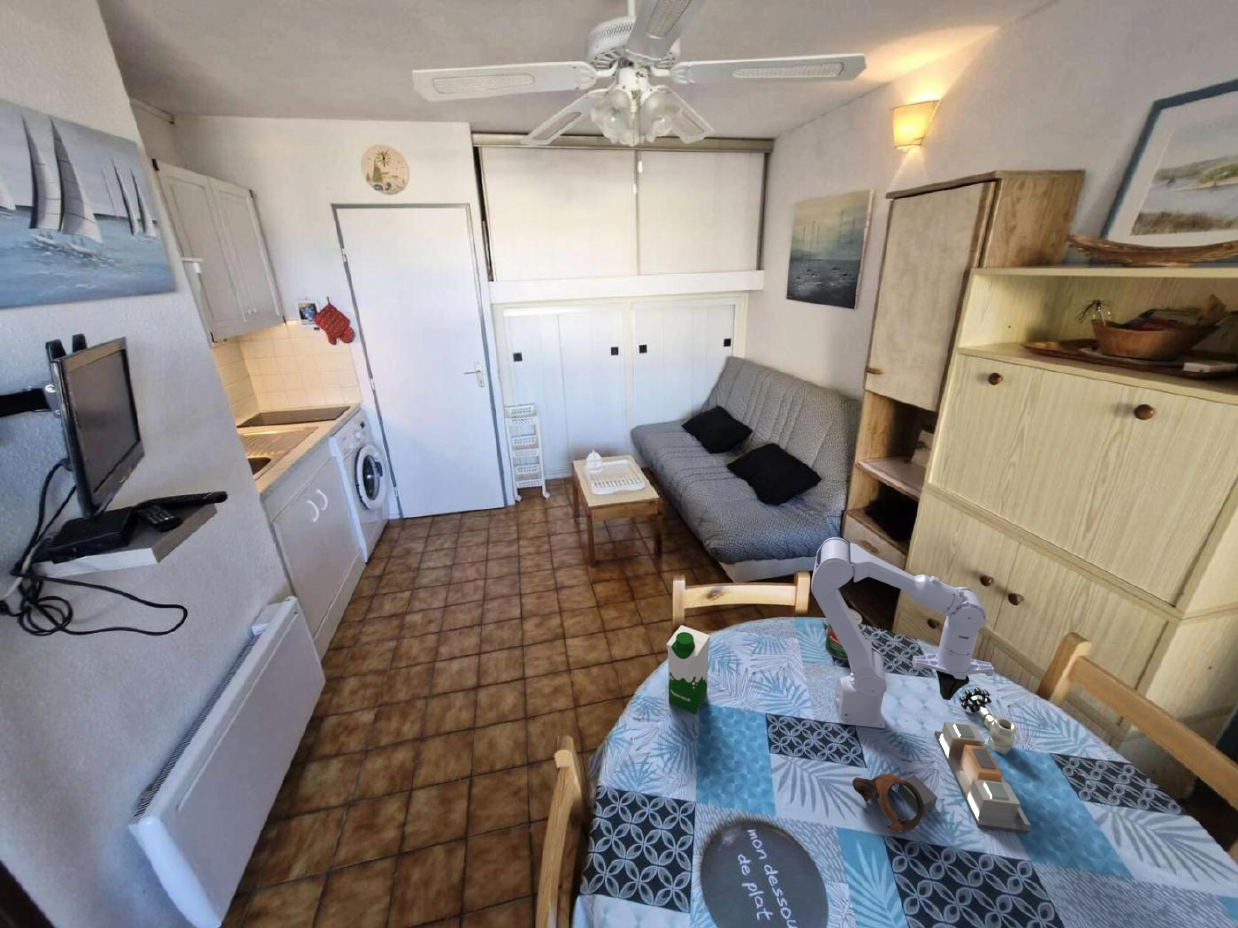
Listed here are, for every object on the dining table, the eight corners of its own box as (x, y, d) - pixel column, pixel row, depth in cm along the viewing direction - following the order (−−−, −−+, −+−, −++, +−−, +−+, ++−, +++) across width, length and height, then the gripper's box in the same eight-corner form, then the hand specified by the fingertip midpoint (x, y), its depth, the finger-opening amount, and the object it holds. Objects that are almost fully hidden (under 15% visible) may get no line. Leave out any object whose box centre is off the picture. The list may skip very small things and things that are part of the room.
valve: (1021, 755, 106) (985, 709, 117) (1029, 732, 103) (992, 687, 114) (988, 755, 106) (956, 708, 117) (995, 732, 104) (961, 686, 115)
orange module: (973, 790, 98) (979, 770, 96) (960, 762, 104) (965, 743, 102) (996, 792, 97) (1003, 773, 96) (981, 764, 103) (987, 745, 101)
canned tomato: (828, 658, 133) (833, 624, 129) (822, 638, 141) (826, 605, 137) (860, 661, 132) (865, 627, 128) (852, 640, 139) (857, 607, 135)
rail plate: (977, 827, 93) (985, 805, 91) (934, 734, 111) (939, 714, 109) (1026, 833, 91) (1035, 811, 89) (974, 738, 110) (980, 718, 107)
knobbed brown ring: (904, 786, 101) (927, 781, 95) (906, 842, 95) (931, 840, 89) (844, 764, 103) (862, 758, 96) (842, 818, 97) (862, 815, 90)
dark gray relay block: (919, 816, 95) (922, 805, 94) (896, 792, 100) (899, 781, 99) (934, 807, 97) (937, 796, 96) (911, 784, 101) (914, 774, 100)
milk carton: (663, 703, 122) (662, 637, 115) (680, 679, 129) (680, 615, 122) (697, 719, 117) (698, 651, 110) (712, 692, 124) (714, 627, 117)
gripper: (925, 656, 101) (914, 707, 106) (1007, 662, 98) (992, 715, 103) (912, 632, 107) (903, 681, 112) (989, 638, 104) (976, 688, 109)
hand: (944, 696), depth 108 cm, fingers closed
